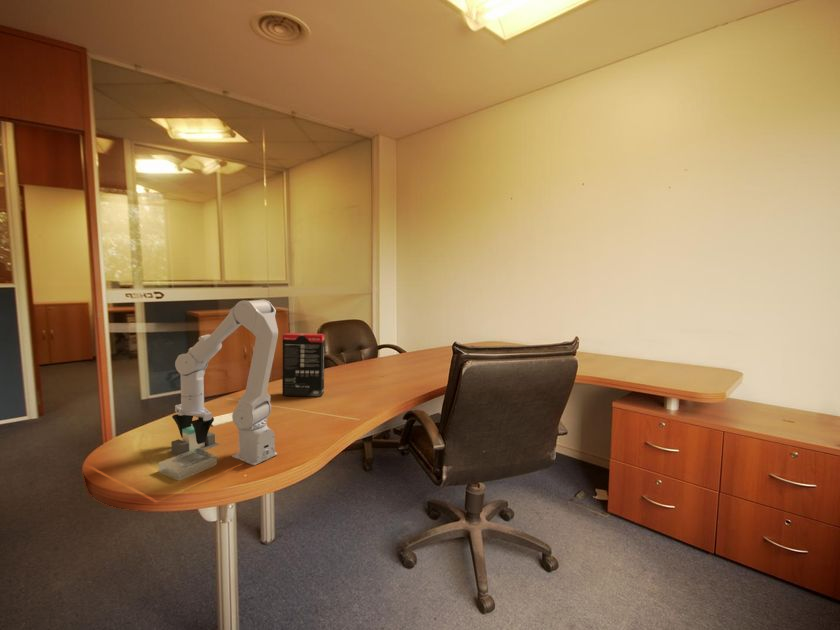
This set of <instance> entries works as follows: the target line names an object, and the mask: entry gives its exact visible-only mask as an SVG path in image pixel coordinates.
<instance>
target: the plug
mask: <svg viewBox="0 0 840 630" xmlns="http://www.w3.org/2000/svg"><path fill="white" fill-rule="evenodd" d="M182 436H183V438H182V441H185V442H188V443H189V451H191V450H194V449H197V448H201V447H204V446H205V442H204V443H201V444H197V441H196V434H195V430H194V427H193V425H191V426H190V427H187V428H184V429H182Z"/></svg>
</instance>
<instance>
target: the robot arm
mask: <svg viewBox="0 0 840 630" xmlns="http://www.w3.org/2000/svg"><path fill="white" fill-rule="evenodd" d="M276 312H277V310H276V308H275V307H274V305H273V304H272V302H270V301H269V300H267V299H264V298H263V299H257V300H256V299H254V300H246V299H245V300H240V301H238V302H237V303H236V304H235V305H234V306H233V307H232V308H230V310H229V313H228V314H227V316H226V317H225V318H224V319H223V320H222V321H221V322H220V323H219V325H218V326H217V327H216V328H215V329H214V331H213V332H212V333H210V334H204V335H200V336H199V337H198V341H197V342H196V343H195V344H194V345H192V347H190V348H188V351H187V352H186V353H181V354H179V355H177V358H176V359H175V363H174V366H175V369H176V372H178V374H180V404H176V405H174V411H175V413H176V414H173V415H172V417H171V418H172V419H173V420H174V422H175V424H176V426H177V429H178V431H179V434H180V437H181V439H183V436H182V429H184V428H187V427H190V426H193V427H194V430H195V434H196V441H197V444H201V443H204V442H206V438H207V434H208V432H210V431H209V430H210V428H211V424H212V422H213V421H214V418H213V417H214V416H213V415H212V412H211V411H209V410H208V409H207V407H205V390H204V389H205V386H204V385H205V383H204V380H205V377H204V376H205V375H206V369H207V368H208V366H209V362H210V360H211V359H212V358H213V357H215V355H216V354H217V353H218V352H219V351H220V350H221V349H222V347H223V343H222V342H223V341H225V339H226V338H228V337H229V336H231V335H232V333H234V332H235V331H236V330H237V329H238V328H239V327H240V326H243V327H244V328H246V329H247V330H248V331H249V332H251V333H252V334H253V335H254V337H255V339H254V340H255V342H254V344H253V345H254V346H253V352H252V355H251V361H250V367H249V372H248V377H247V382H246V388H245V391H244V393H243V394H242V396H241V397H240V398H239V399H238V402H237V406H236V408H235V409H234V410H233V412H232V413H233V415H232V419H233V421H232V422H233V423H234V425H235V426H236V428H237V429H238V452H236V453H235V454H232V455H231V457H232V458H233V459H234V458H235V459H237V460H240V461H243V462H244V463H246V464H249V465H252V466H256V465H258V464H260V463H262V462H264V461H267V460H269V459H272V458H274V457H275V456H277V455H278V452H276V444H275V443H276V438H275V437H276V436H275V432H274V430H272V429H271V428H269V426H268V424H267V422H268V417H269V416H270V415H271V412H272V404H271V398H272V396H271V395H270V394H269V393H268V392H267V391H268V388H269V387H268V386H269V382H270V378H271V372H272V368H273V363H274V359H275V358H274V357H275V353H276V347H277V342H278V336H279V328H278V323H277V319H276V314H277V313H276ZM194 417H195V418H197V419H195V420H193V419H194Z"/></svg>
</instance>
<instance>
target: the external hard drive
mask: <svg viewBox="0 0 840 630" xmlns="http://www.w3.org/2000/svg"><path fill="white" fill-rule="evenodd" d="M232 415H233V412H230V413H225V414H221V415H217V416H212V417H213V418H214V421H213V422H212V424H211V426H212V427H216V426H220V425H224V424H228V423H232V422H233V419H232ZM211 426H210V427H211Z"/></svg>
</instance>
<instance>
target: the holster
mask: <svg viewBox="0 0 840 630" xmlns="http://www.w3.org/2000/svg"><path fill="white" fill-rule="evenodd" d="M215 435H216V434H215V433H213V432H210V431H208V434H207V438H206V442H205V446H204V447H201V448H198V449H201V450H203V451H206V450H208V449H211V448H214V447H216V446H219V445H220V442H219V443H218V442H216V436H215ZM170 443H171V444H170V445H171V449H169V450H167V451H166V453H168V454H171V455H173V456H178V455H180V454H183V453H186V452H188V451H189V443H188V442H185V441H183V439H179V438H178V439H175V440H173V441H171V442H170Z"/></svg>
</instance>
